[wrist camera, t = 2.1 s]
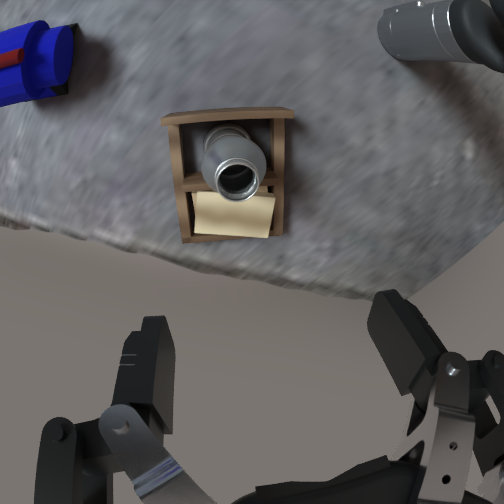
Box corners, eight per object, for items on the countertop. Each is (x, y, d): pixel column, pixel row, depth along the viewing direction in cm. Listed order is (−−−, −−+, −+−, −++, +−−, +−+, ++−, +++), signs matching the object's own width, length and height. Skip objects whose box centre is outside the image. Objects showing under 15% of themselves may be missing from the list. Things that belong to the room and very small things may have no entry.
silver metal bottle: (204, 121, 39) (197, 144, 22) (250, 122, 40) (280, 147, 23) (203, 162, 42) (196, 217, 25) (247, 163, 43) (273, 218, 26)
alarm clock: (27, 36, 25) (-28, 30, 12) (89, 20, 27) (41, 0, 14) (21, 102, 31) (-36, 117, 18) (81, 92, 33) (28, 99, 20)
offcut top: (197, 186, 41) (197, 191, 39) (272, 193, 43) (275, 197, 41) (195, 226, 44) (194, 233, 42) (265, 231, 46) (267, 238, 44)
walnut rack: (169, 113, 37) (160, 118, 31) (279, 106, 39) (294, 110, 32) (183, 234, 48) (179, 260, 41) (278, 226, 49) (290, 251, 43)
